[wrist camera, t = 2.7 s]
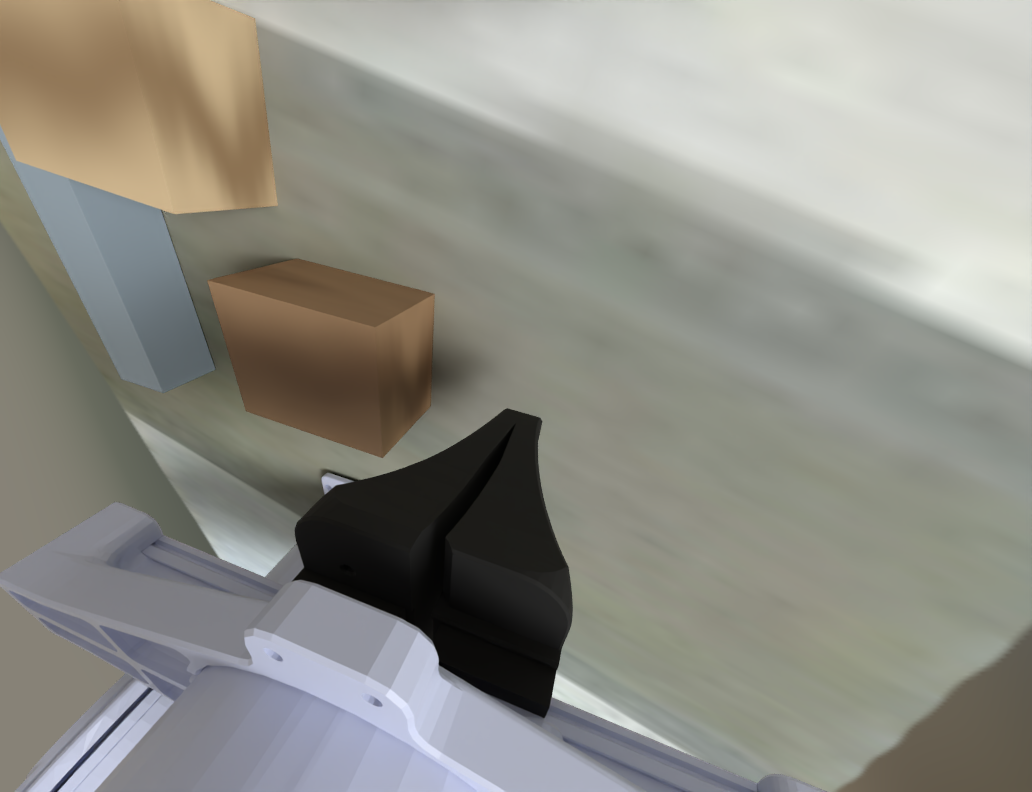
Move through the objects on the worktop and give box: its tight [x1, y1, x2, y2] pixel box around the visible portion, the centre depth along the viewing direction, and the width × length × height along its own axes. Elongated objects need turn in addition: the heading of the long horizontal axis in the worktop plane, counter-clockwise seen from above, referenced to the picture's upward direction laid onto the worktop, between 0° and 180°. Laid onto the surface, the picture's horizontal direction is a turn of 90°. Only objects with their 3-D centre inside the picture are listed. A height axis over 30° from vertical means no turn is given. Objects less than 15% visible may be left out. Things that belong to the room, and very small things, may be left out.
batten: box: [0, 125, 215, 393], centre depth 17 cm, size 18×3×3 cm, turn 172°
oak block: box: [0, 0, 278, 214], centre depth 13 cm, size 6×7×4 cm
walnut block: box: [207, 259, 435, 458], centre depth 17 cm, size 6×7×4 cm
